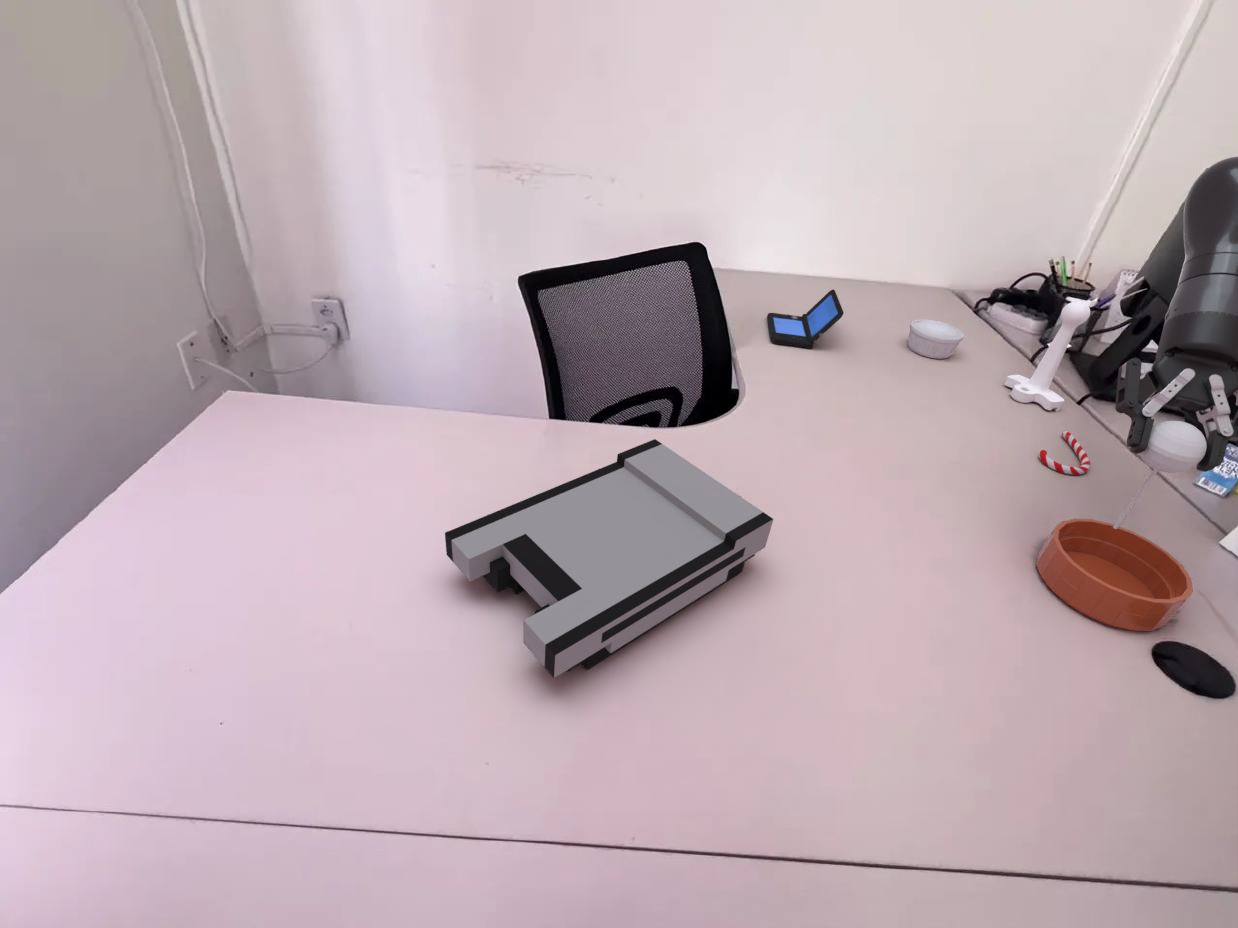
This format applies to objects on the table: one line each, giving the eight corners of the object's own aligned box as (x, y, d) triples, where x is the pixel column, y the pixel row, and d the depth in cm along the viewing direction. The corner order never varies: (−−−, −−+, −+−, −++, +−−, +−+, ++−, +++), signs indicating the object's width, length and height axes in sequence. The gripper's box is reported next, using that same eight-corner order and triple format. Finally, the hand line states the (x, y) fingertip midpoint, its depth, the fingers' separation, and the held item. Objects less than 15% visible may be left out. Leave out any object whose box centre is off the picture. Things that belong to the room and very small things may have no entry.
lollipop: (1095, 506, 84) (1161, 405, 75) (1147, 529, 81) (1223, 427, 72) (1082, 525, 80) (1150, 422, 71) (1136, 551, 77) (1214, 446, 68)
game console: (765, 317, 154) (774, 280, 149) (824, 325, 153) (834, 288, 148) (769, 344, 141) (778, 304, 136) (832, 353, 140) (845, 313, 135)
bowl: (1140, 564, 90) (1162, 534, 87) (1188, 648, 78) (1216, 616, 75) (1022, 538, 92) (1040, 507, 89) (1051, 614, 80) (1073, 583, 77)
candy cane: (1087, 435, 117) (1093, 476, 106) (1084, 441, 117) (1089, 482, 106) (1040, 422, 119) (1040, 460, 108) (1036, 428, 120) (1037, 466, 109)
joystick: (1063, 410, 127) (1117, 313, 116) (1036, 414, 125) (1088, 315, 113) (1017, 383, 136) (1063, 290, 124) (991, 386, 133) (1035, 292, 122)
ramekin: (910, 335, 152) (918, 314, 149) (960, 351, 147) (969, 329, 144) (896, 350, 145) (904, 327, 142) (948, 366, 140) (958, 343, 137)
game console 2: (448, 577, 76) (444, 524, 72) (648, 486, 95) (655, 439, 90) (552, 701, 64) (555, 646, 59) (758, 568, 82) (773, 519, 78)
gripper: (1152, 295, 73) (1115, 432, 71) (1307, 326, 69) (1273, 473, 67) (1119, 324, 80) (1084, 449, 78) (1257, 353, 76) (1225, 487, 74)
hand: (1171, 460), depth 72 cm, fingers closed on lollipop, 6 cm apart
